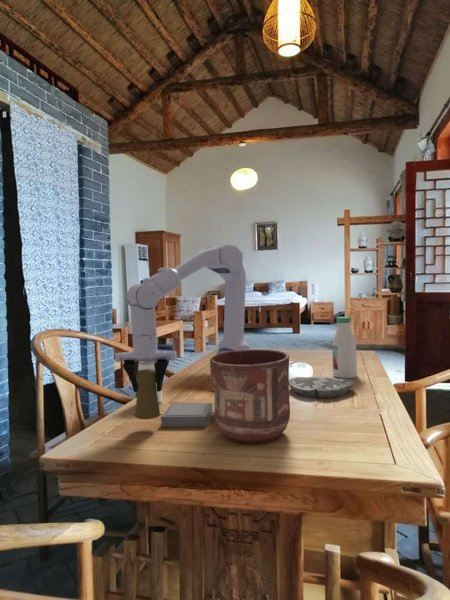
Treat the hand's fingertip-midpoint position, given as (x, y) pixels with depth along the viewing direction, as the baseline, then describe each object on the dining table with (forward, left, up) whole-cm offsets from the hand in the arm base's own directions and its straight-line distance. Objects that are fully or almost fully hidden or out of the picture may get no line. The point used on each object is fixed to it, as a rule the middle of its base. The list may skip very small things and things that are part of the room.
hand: (147, 390), depth 109 cm
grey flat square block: (-8, -7, -9) cm, 14 cm away
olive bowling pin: (0, 0, -6) cm, 6 cm away
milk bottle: (-53, -50, -10) cm, 73 cm away
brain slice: (-43, -31, -10) cm, 54 cm away
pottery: (-25, +4, -10) cm, 27 cm away
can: (+6, -22, -10) cm, 25 cm away
